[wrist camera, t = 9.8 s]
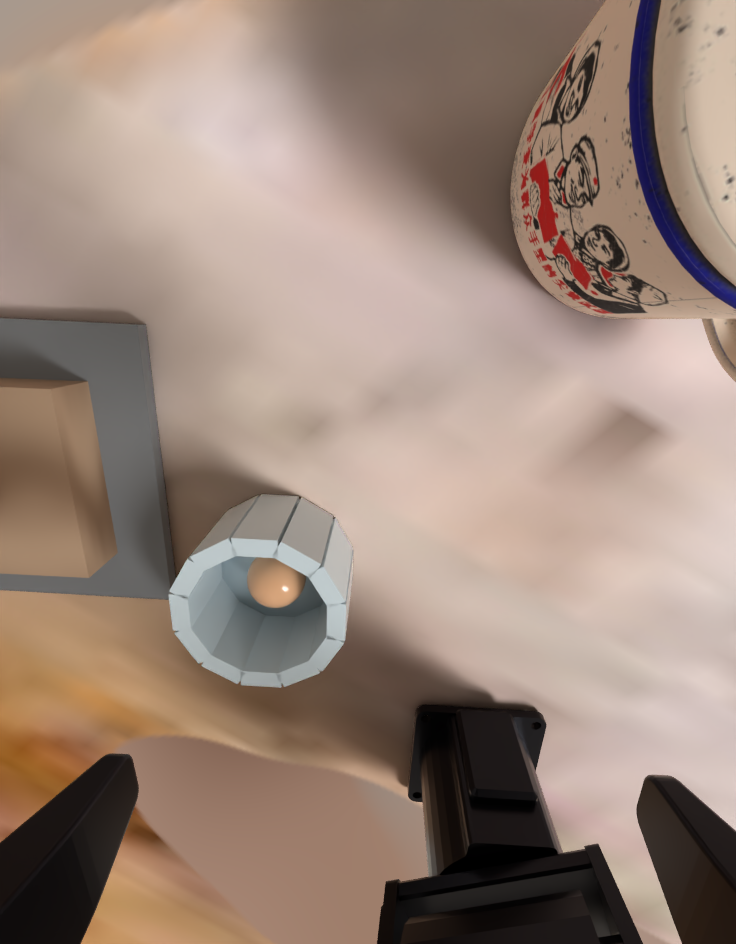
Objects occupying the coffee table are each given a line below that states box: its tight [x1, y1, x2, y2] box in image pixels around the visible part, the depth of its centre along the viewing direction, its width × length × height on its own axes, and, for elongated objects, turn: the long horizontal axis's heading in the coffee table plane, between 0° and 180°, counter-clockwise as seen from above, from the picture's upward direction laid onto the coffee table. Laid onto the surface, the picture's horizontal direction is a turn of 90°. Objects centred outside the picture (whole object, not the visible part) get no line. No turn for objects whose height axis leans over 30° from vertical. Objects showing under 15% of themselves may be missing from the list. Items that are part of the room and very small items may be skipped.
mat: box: [0, 318, 176, 600], centre depth 18 cm, size 12×12×1 cm
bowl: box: [168, 494, 353, 688], centre depth 18 cm, size 6×6×4 cm
